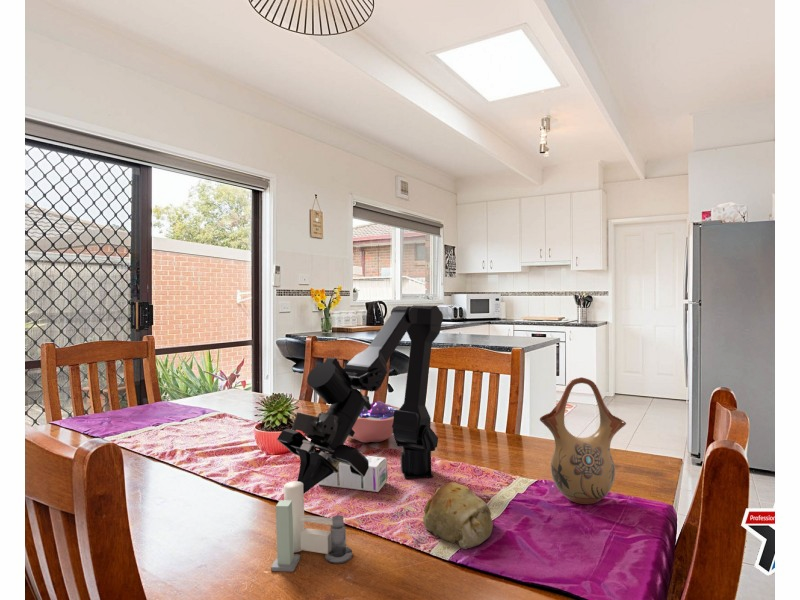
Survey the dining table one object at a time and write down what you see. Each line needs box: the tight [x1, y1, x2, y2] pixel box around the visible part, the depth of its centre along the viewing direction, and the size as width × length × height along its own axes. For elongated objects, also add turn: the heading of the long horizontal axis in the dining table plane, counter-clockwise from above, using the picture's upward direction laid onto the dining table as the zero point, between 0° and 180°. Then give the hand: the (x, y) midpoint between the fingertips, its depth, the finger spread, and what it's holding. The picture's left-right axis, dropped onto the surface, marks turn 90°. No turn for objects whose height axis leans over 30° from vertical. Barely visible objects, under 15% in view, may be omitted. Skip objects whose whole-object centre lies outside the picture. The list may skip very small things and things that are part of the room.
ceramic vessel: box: [539, 377, 627, 505], centre depth 97 cm, size 16×9×25 cm, turn 77°
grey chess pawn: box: [324, 523, 353, 565], centre depth 80 cm, size 4×4×5 cm
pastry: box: [422, 480, 494, 550], centre depth 88 cm, size 14×12×8 cm
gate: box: [283, 480, 345, 554], centre depth 81 cm, size 10×3×11 cm, turn 73°
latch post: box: [270, 499, 301, 573], centre depth 77 cm, size 4×4×10 cm
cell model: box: [347, 400, 401, 444], centre depth 138 cm, size 17×20×11 cm
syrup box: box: [317, 455, 388, 493], centre depth 108 cm, size 6×6×14 cm
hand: (296, 495), depth 84 cm, fingers closed, pressing on gate
